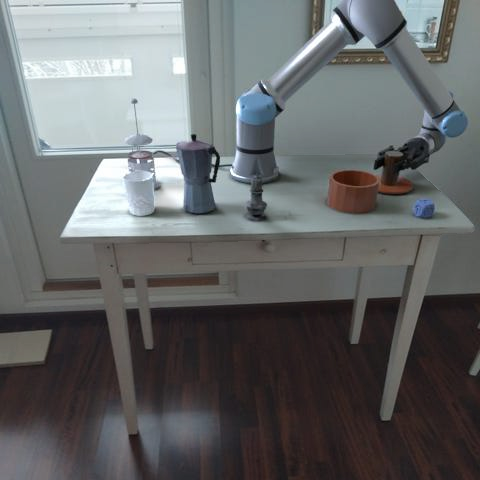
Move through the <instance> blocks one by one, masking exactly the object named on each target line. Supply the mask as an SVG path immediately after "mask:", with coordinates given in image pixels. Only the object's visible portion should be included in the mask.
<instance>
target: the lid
mask: <svg viewBox="0 0 480 480" xmlns="http://www.w3.org/2000/svg"><path fill="white" fill-rule="evenodd" d="M402 159H403V153H401V152H398V151H387V152H386V153H385V158H384V163H383V166H382V167H381V174H375V175H376V176H377V177H378V178H379V179H380V182H379V188H378V193H382V194H388V195H400V194H406V193H410V192H411V191H412V190H413V189H414V184H413V182H411V180H409V179H407V178H404V177H403V176H400V174H401V171H399V172H398V173H396V174H394V175H393V174H392V169H393V165H394V164H396V163H398V162H399V161H401V160H402Z"/></svg>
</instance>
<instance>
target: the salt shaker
mask: <svg viewBox="0 0 480 480" xmlns="http://www.w3.org/2000/svg"><path fill="white" fill-rule="evenodd" d="M250 185H251V186H250V189H249V192H250V199H249V200H248V201H246V202H245V207H246V208H245V209H246V210H247V212H248V213H247V214H246V215H245V218H246V219H247V220H248V221H253V222H259V221H260V222H261V221H263V220H265V219H266V214H264V212H266V208H267V207H268V204H267V202H266V201H264V200H263V193H264V189H263V183H262V178H261V177H259V176H258V174H256V176H255V177H253V178H252V180H251V184H250Z"/></svg>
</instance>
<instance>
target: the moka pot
mask: <svg viewBox="0 0 480 480" xmlns="http://www.w3.org/2000/svg"><path fill="white" fill-rule="evenodd" d="M190 139H191V140H181V141H178V142H177V143H176V146H175V150H176V154H177V159H178V160H179V162H178V163H179V167H180V172H181V175H182V176H183V181H184V182H183V209H184V211H185V212H186V213H191V214H205V213H208V212H212V211H214V210H215V208H216V202H215V197H214V192H213V187H212V183H214V184H215V183H216V182H217V177H218V173H219V172H218V171H219V168H220V167H219V165H221V164H220V163H221V155H220V153H219V152H218V151H217V149H216V147H215V146H213V144H212V143H210V142H209V141H205V140H197V134H195V133H193V134H190ZM213 155H214V156H215V162H214V164H215V167H214V168H213V175H212V178H211V173H212V167H213V166H212V164H213Z"/></svg>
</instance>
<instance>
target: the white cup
mask: <svg viewBox="0 0 480 480" xmlns="http://www.w3.org/2000/svg"><path fill="white" fill-rule="evenodd" d="M153 174H154V173H151V172H148V171H132V172H130V171H128V172H126V173H125V174H123V175H122V179H123V185H124V191H125V195H126V200H127V203H128V209H129V213H130V215H134V216H138V217H143V216H145V217H146V216H148V215H151V214H153V213H154V212H155V210H156V209H155V190H154V183H153Z"/></svg>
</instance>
